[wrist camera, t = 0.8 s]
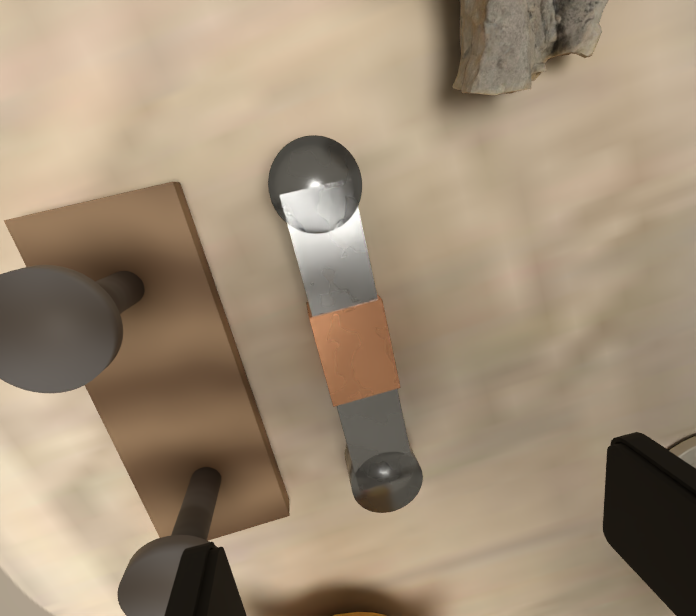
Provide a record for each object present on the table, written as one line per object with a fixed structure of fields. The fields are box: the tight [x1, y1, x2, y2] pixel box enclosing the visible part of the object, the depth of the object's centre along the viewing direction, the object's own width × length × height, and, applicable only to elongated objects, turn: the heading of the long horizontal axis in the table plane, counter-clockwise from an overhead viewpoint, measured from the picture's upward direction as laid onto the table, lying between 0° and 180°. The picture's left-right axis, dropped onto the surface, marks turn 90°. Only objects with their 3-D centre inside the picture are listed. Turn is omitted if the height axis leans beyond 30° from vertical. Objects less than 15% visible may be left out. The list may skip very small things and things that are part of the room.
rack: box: [0, 182, 289, 616], centre depth 21 cm, size 24×9×10 cm, turn 13°
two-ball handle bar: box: [268, 136, 423, 513], centre depth 25 cm, size 25×5×4 cm, turn 13°
